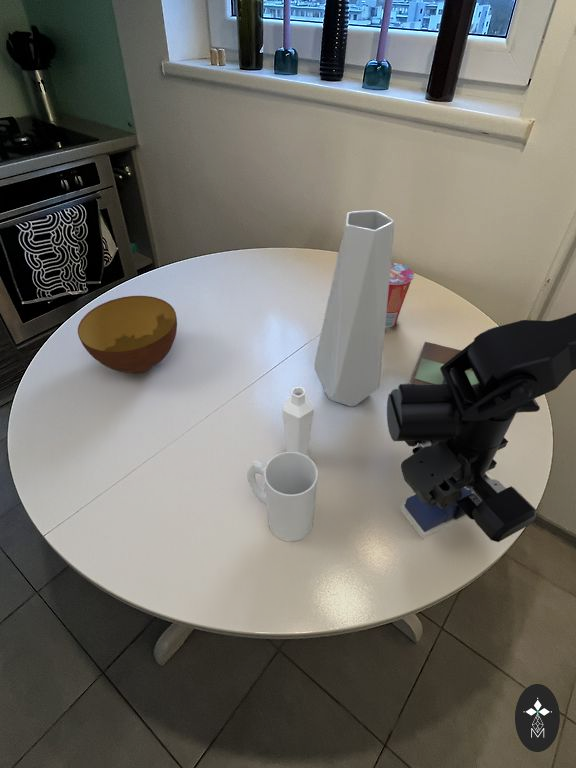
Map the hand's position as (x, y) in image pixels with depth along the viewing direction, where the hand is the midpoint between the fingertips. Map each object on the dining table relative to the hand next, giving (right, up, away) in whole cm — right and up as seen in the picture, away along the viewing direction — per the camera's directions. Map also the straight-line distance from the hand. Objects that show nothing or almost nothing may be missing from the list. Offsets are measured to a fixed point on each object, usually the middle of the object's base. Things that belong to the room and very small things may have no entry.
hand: (444, 503), depth 63 cm
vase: (-10, +15, +22) cm, 29 cm away
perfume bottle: (-20, +5, +11) cm, 23 cm away
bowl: (-51, +21, +28) cm, 62 cm away
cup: (-1, +30, +38) cm, 48 cm away
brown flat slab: (+9, +17, +23) cm, 30 cm away
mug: (-23, -3, +3) cm, 23 cm away
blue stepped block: (0, -1, +1) cm, 1 cm away
